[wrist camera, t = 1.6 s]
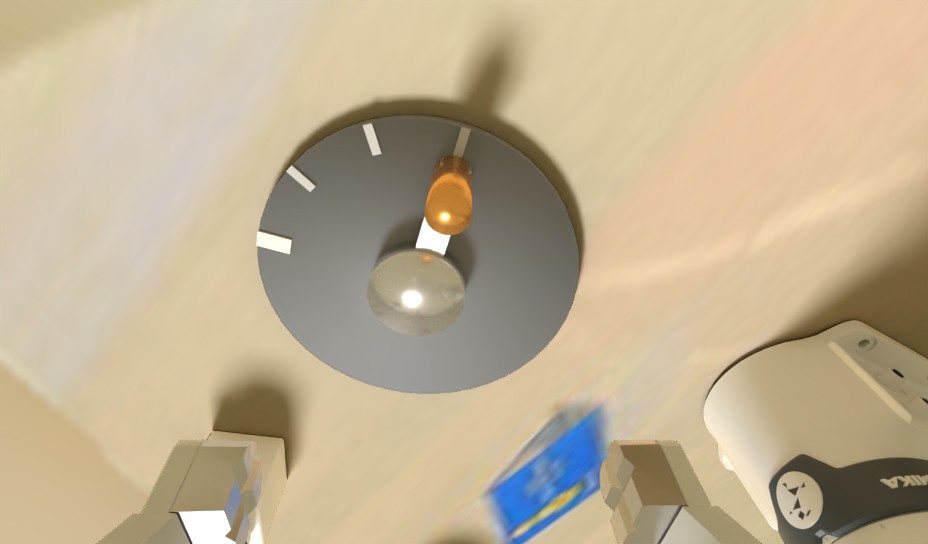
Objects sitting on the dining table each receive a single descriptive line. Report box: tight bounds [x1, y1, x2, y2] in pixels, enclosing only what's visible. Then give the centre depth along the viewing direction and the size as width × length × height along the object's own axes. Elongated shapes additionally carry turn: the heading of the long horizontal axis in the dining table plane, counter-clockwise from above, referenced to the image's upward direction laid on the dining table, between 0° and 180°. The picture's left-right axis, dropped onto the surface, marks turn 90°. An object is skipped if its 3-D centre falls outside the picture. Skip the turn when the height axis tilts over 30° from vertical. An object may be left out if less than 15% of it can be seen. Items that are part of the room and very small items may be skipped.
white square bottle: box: [207, 431, 287, 544], centre depth 45 cm, size 7×7×12 cm
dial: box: [367, 155, 472, 336], centre depth 32 cm, size 14×7×6 cm, turn 163°
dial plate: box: [256, 114, 579, 394], centre depth 37 cm, size 24×24×1 cm
